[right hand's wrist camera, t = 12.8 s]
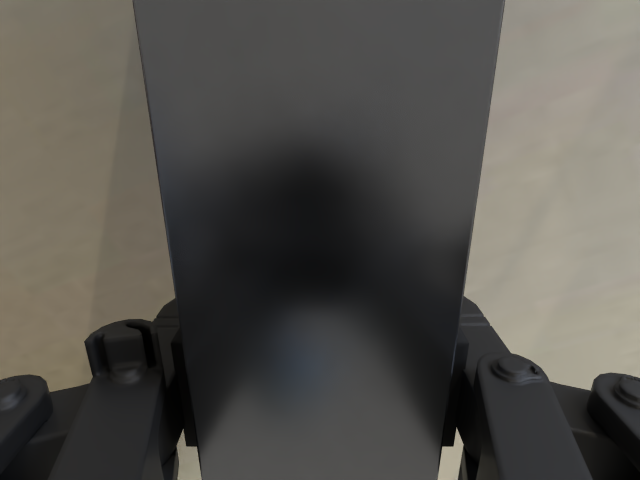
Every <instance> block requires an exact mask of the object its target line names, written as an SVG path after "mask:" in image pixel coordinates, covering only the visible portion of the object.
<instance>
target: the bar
mask: <svg viewBox="0 0 640 480" xmlns="http://www.w3.org/2000/svg"><path fill="white" fill-rule="evenodd" d="M504 5H505V0H133V7H134V13H135V20H136V27H137V34H138V41H139V48H140V55H141V62H142V69H143V76H144V83H145V90H146V97H147V103H148V110H149V117H150V124H151V131H152V138H153V145H154V152H155V159H156V166H157V173H158V180H159V186H160V193H161V200H162V207H163V214H164V221H165V228H166V235H167V242H168V249H169V256H170V263H171V269H172V276H173V283H174V290H175V297H176V304H177V311H178V318H179V325H180V332H181V339H182V346H183V353H184V359H185V366H186V373H187V380H188V387H189V394H190V401H191V408H192V415H193V422H194V429H195V436H196V442H197V449H198V456H199V463H200V470H201V477H202V480H437V479H438V472H439V465H440V458H441V451H442V444H443V437H444V430H445V423H446V416H447V409H448V402H449V394H450V387H451V380H452V373H453V366H454V359H455V352H456V345H457V338H458V331H459V324H460V317H461V309H462V302H463V295H464V288H465V281H466V274H467V267H468V260H469V253H470V246H471V239H472V232H473V224H474V217H475V210H476V203H477V196H478V189H479V182H480V175H481V168H482V161H483V154H484V146H485V139H486V132H487V125H488V118H489V111H490V104H491V97H492V90H493V83H494V76H495V69H496V61H497V54H498V47H499V40H500V33H501V26H502V19H503V12H504Z"/></svg>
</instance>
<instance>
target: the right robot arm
mask: <svg viewBox="0 0 640 480" xmlns="http://www.w3.org/2000/svg"><path fill="white" fill-rule="evenodd" d="M84 342H85V347H86V351H87V355H88V359H89V363H90V367H91V371H92V375H93V378H92V380H91V382H90V383H89V384H85V385H82V386H78V387H73V388H68V389H63V390H59V391H54V392H49V389H48V386H47V382H46V381H45V380H44V379H43V378H42V377H40V376H35V375H21V376H14V377H9V378H7V379H6V378H5V379H2V380H0V480H177V477H178V468H179V459H178V452H177V446H176V445H177V443H178V440H179V438H180V435H181V433H182V430H183V428H184V435H185V441H186V446H197V442H196V436H195V429H194V422H193V415H192V408H191V401H190V394H189V387H188V380H187V373H186V366H185V359H184V353H183V346H182V339H181V332H180V325H179V318H178V311H177V304H176V298H175V299H173V300H172V301H170V302H169V303H167V304H166V305H164V306H163V308H162V309H161V311H160V312H159V314H158V315H157V318H155V319H154V321H153V322H151V321H147V320H143V319H128V320H123V321H118V322H114V323H111V324H109V325H106V326H103V327H101V328H100V329H98V330H96V331H95V332H93V333H92V334H90V336H89V337H88V338H87V339H86V340H85V341H84ZM456 427H457V429H458V431H459V434H460V436H461V439H462V441H463V444H464V446H463V452H462V458H461V464H460V470H459V476H458V480H640V378H638V377H633V376H631V375H626V374H618V373H606V374H600V375H599V376H598V377H596V378H595V379H594V381H593V385H592V388H591V391H590V390H585V389H580V388H575V387H571V386H566V385H561V384H557V383H554V382H550V381H549V379H548V377H547V375H546V374H545V373H544V371H543V370H542V369H541V368H540V367H539V366H538V365H536V364H535V363H533V362H532V361H531V360H528V359H526V358H524V357H522V356H519V355H516V354H512V353H510V351H509V350H508V348H507V347H506V346H505V344H504V343H503V342H502V340H501V339H500V337H499V336H498V335H497V333H496V332H495V330H494V329H493V328H492V326H490V323H489V322H488V321H487V319H486V318H485V317H484V316H483V314H482V312H481V311H480V309H479V308H478V307H477V305H476V304H475V303H473V302H472V301H470V300H469V299H467V298H466V297H464V296H463V302H462V309H461V317H460V324H459V331H458V338H457V345H456V352H455V359H454V366H453V373H452V380H451V387H450V394H449V402H448V409H447V416H446V423H445V430H444V437H443V444H442V446H454V440H455V433H456Z"/></svg>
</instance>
